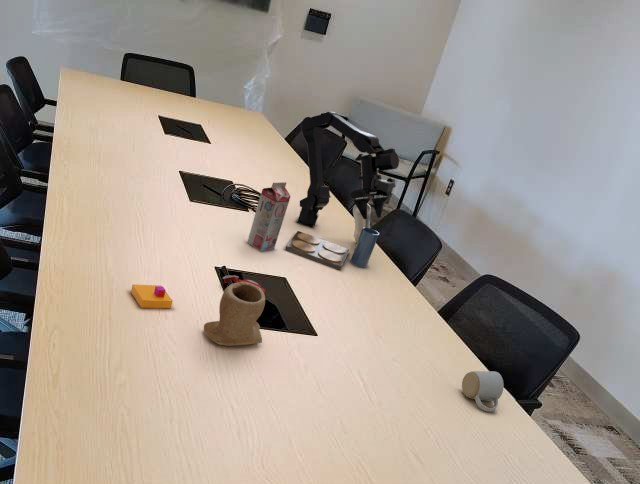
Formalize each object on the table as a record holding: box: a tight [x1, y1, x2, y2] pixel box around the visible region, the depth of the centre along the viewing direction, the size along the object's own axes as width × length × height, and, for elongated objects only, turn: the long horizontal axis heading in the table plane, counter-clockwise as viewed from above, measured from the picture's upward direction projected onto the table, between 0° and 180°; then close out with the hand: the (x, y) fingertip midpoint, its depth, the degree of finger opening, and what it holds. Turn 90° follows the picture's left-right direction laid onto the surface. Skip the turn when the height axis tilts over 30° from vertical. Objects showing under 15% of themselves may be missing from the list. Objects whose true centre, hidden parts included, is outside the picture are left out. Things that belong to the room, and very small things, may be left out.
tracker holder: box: [222, 274, 266, 294], centre depth 189 cm, size 12×4×10 cm
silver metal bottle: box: [352, 203, 372, 243], centre depth 248 cm, size 6×7×20 cm
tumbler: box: [349, 227, 380, 269], centre depth 234 cm, size 6×6×12 cm
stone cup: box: [203, 282, 266, 346], centre depth 161 cm, size 15×12×15 cm
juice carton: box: [246, 181, 292, 252], centre depth 219 cm, size 7×7×22 cm
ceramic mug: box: [461, 370, 505, 413], centre depth 172 cm, size 11×8×8 cm
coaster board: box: [284, 230, 350, 271], centre depth 235 cm, size 20×20×2 cm
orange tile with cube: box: [130, 284, 173, 309], centre depth 169 cm, size 8×8×4 cm
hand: (372, 218), depth 239 cm, fingers open, 9 cm apart
